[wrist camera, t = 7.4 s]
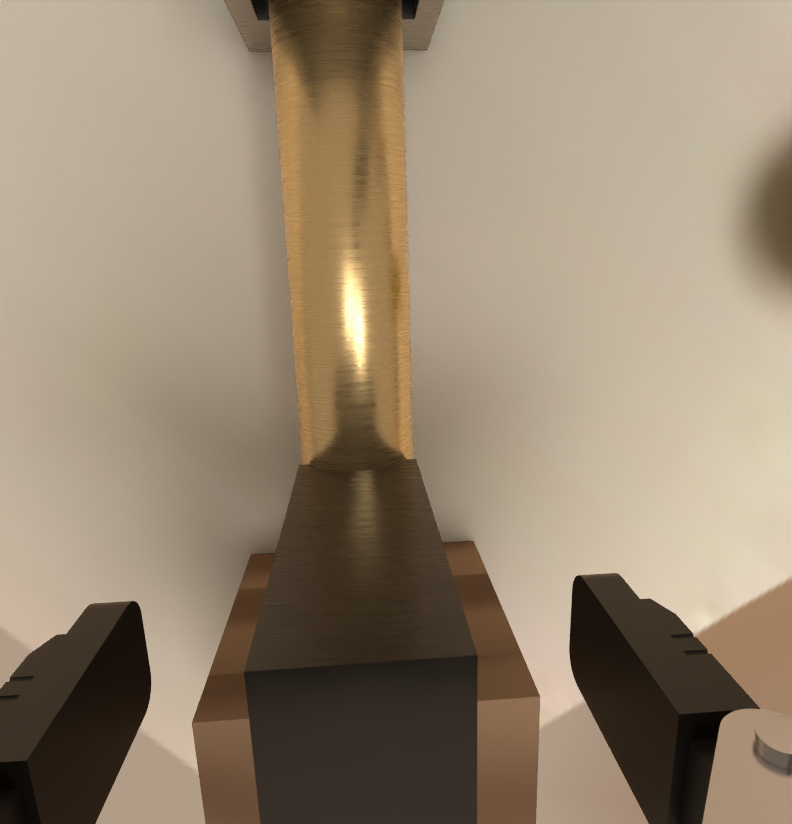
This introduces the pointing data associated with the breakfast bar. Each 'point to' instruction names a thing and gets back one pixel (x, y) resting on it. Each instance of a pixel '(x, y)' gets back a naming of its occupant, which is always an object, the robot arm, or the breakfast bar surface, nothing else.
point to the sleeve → (254, 25)
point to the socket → (496, 704)
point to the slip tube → (355, 467)
